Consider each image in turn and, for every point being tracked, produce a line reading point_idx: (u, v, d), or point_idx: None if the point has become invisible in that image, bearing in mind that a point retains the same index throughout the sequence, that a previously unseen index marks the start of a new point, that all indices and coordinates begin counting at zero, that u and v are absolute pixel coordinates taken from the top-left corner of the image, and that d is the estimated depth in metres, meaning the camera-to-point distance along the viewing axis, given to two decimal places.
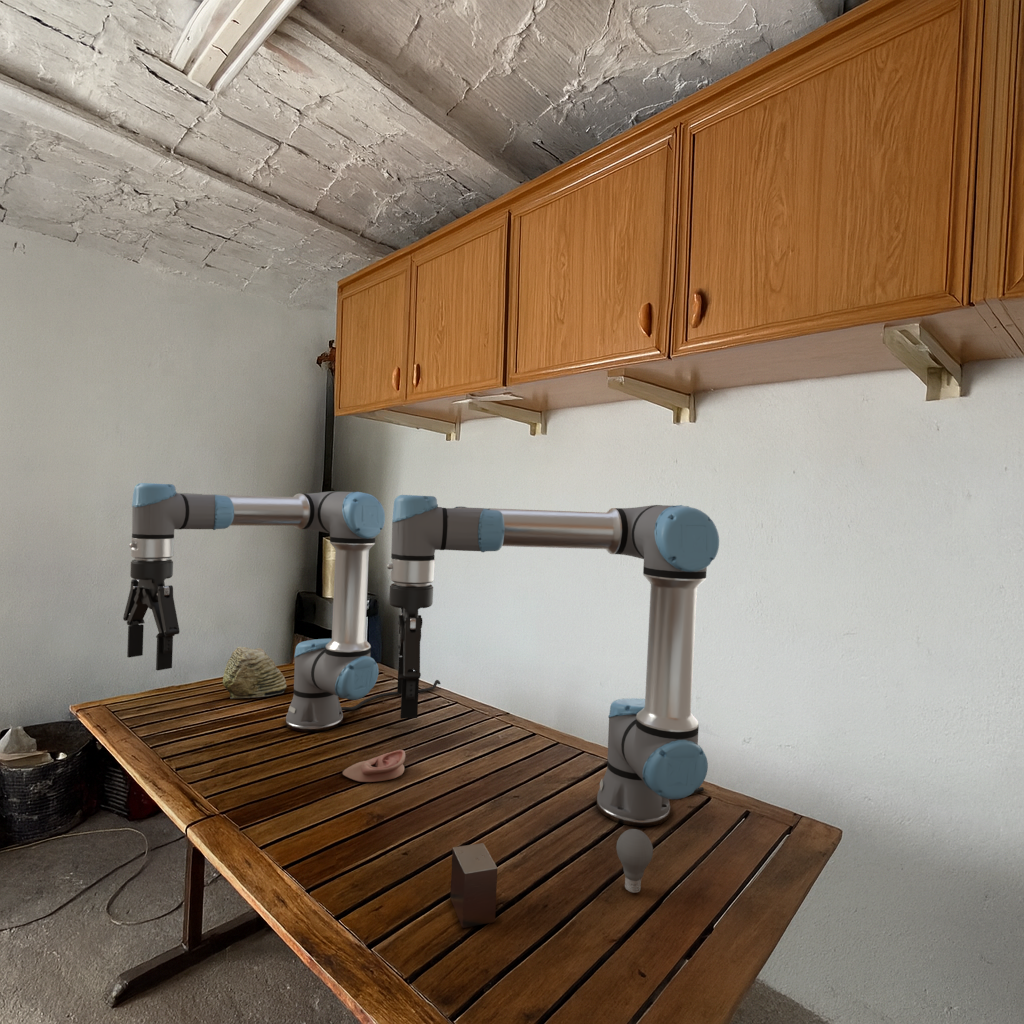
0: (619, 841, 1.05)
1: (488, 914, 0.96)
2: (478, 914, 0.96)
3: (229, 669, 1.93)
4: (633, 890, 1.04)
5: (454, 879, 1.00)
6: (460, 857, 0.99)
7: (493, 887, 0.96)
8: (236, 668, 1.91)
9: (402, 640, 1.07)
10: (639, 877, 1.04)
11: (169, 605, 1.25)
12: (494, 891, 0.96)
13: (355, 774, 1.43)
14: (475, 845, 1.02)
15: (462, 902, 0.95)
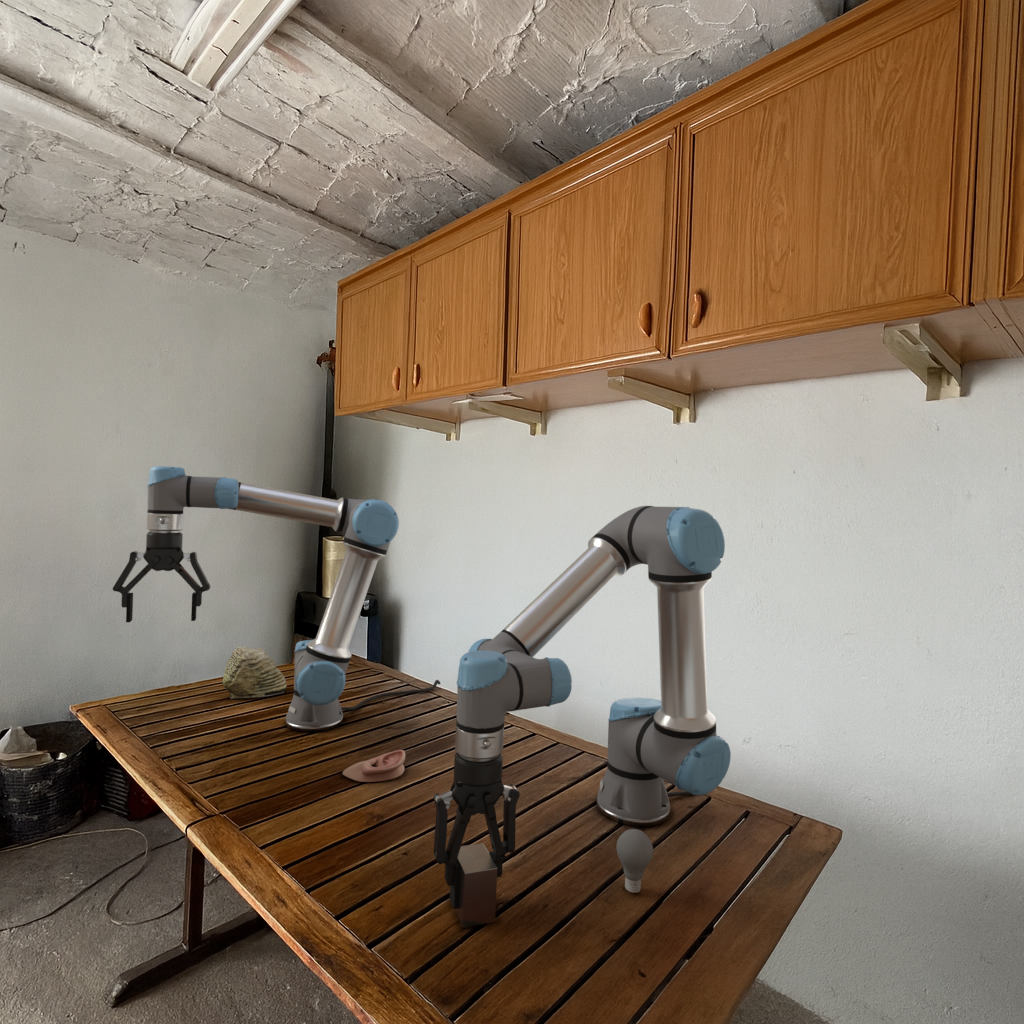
0: (619, 841, 1.05)
1: (488, 914, 0.96)
2: (478, 914, 0.96)
3: (229, 669, 1.93)
4: (633, 890, 1.04)
5: None
6: (460, 857, 0.99)
7: (493, 887, 0.96)
8: (236, 668, 1.91)
9: (493, 818, 0.98)
10: (639, 877, 1.04)
11: (199, 567, 1.53)
12: (494, 891, 0.96)
13: (355, 774, 1.43)
14: (475, 845, 1.02)
15: (462, 902, 0.95)
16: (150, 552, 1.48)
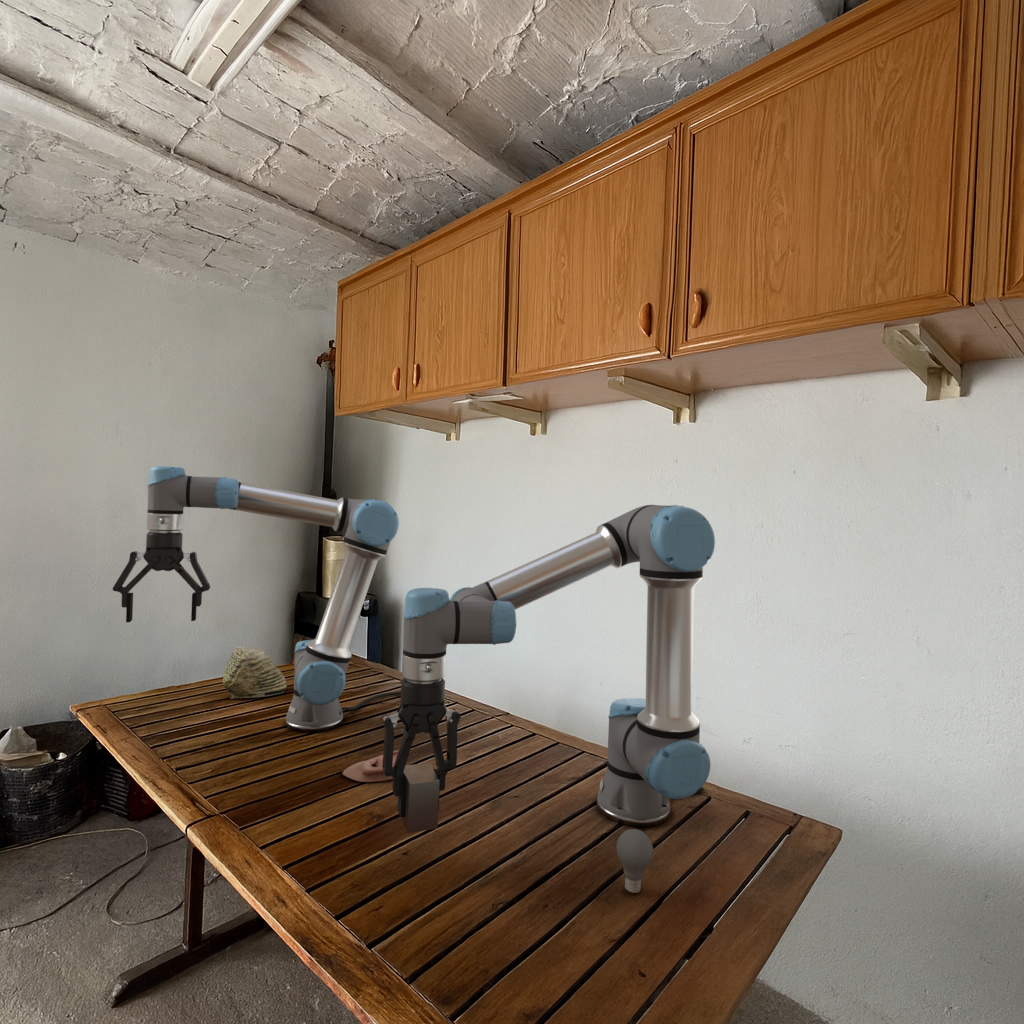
0: (619, 841, 1.05)
1: (431, 821, 1.07)
2: (422, 820, 1.07)
3: (229, 669, 1.93)
4: (633, 890, 1.04)
5: None
6: (407, 772, 1.10)
7: (436, 797, 1.07)
8: (236, 668, 1.91)
9: (436, 736, 1.09)
10: (639, 877, 1.04)
11: (199, 567, 1.53)
12: (436, 800, 1.07)
13: (355, 774, 1.43)
14: (421, 764, 1.13)
15: (407, 810, 1.06)
16: (150, 552, 1.48)
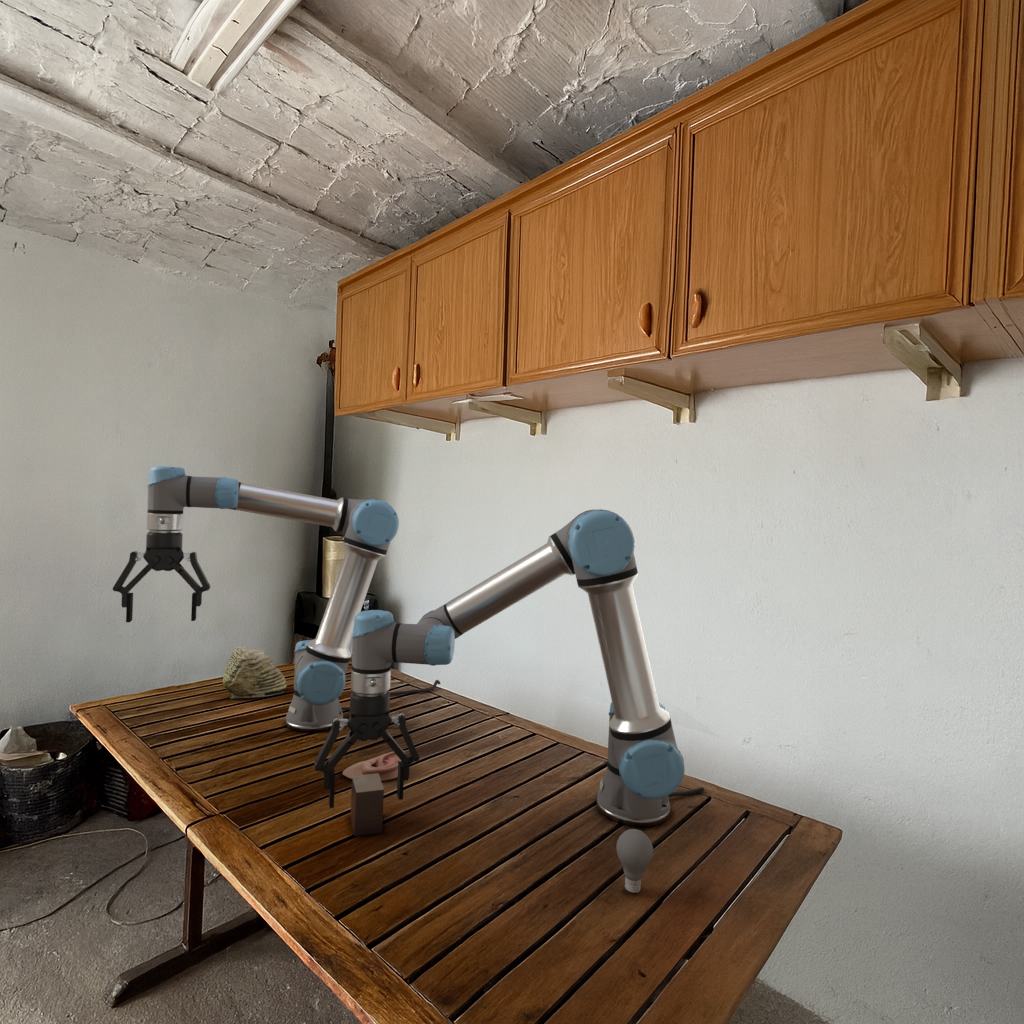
0: (619, 841, 1.05)
1: (376, 826, 1.20)
2: (368, 825, 1.20)
3: (229, 669, 1.93)
4: (633, 890, 1.04)
5: (352, 800, 1.24)
6: (356, 782, 1.23)
7: (381, 804, 1.20)
8: (236, 668, 1.91)
9: (388, 739, 1.23)
10: (639, 877, 1.04)
11: (199, 567, 1.53)
12: (381, 807, 1.20)
13: (355, 774, 1.43)
14: (371, 774, 1.26)
15: (354, 815, 1.19)
16: (150, 552, 1.48)
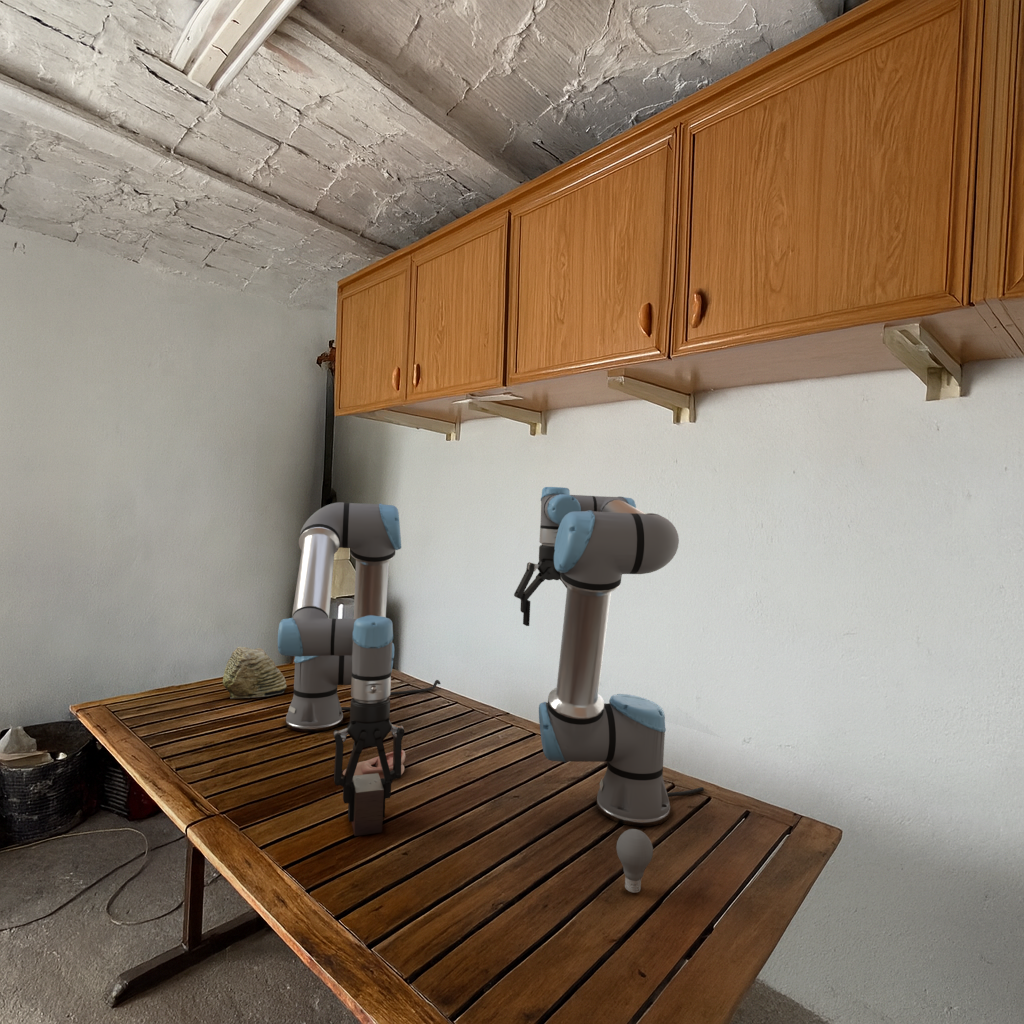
0: (619, 841, 1.05)
1: (376, 826, 1.20)
2: (368, 825, 1.20)
3: (229, 669, 1.93)
4: (633, 890, 1.04)
5: None
6: (356, 782, 1.23)
7: (380, 804, 1.20)
8: (236, 668, 1.91)
9: None
10: (639, 877, 1.04)
11: None
12: (381, 807, 1.20)
13: (355, 774, 1.43)
14: (371, 774, 1.26)
15: (354, 815, 1.19)
16: (356, 726, 1.21)
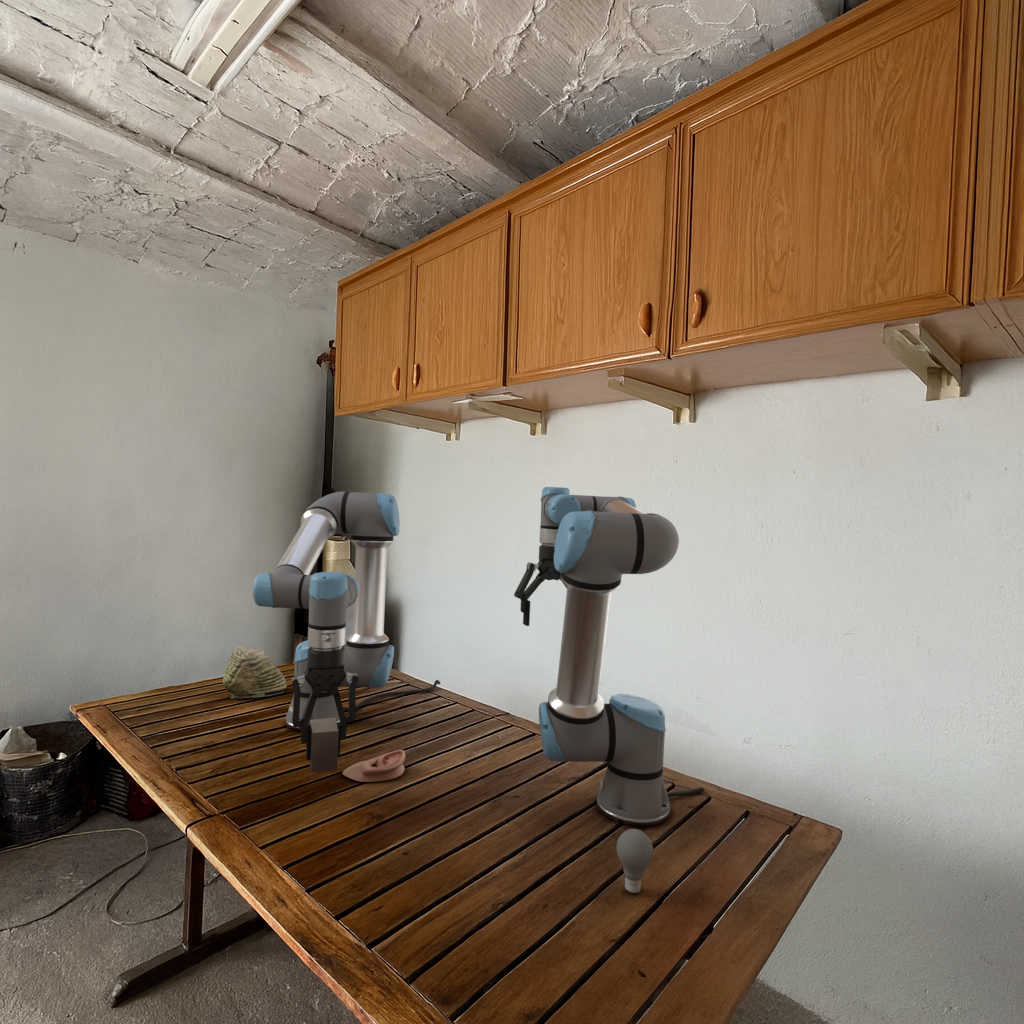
0: (619, 841, 1.05)
1: (331, 764, 1.30)
2: (324, 763, 1.30)
3: (229, 669, 1.93)
4: (633, 890, 1.04)
5: None
6: (313, 724, 1.33)
7: (335, 744, 1.30)
8: (236, 668, 1.91)
9: None
10: (639, 877, 1.04)
11: None
12: (336, 747, 1.30)
13: (355, 774, 1.43)
14: (328, 718, 1.36)
15: (311, 754, 1.29)
16: (312, 672, 1.31)
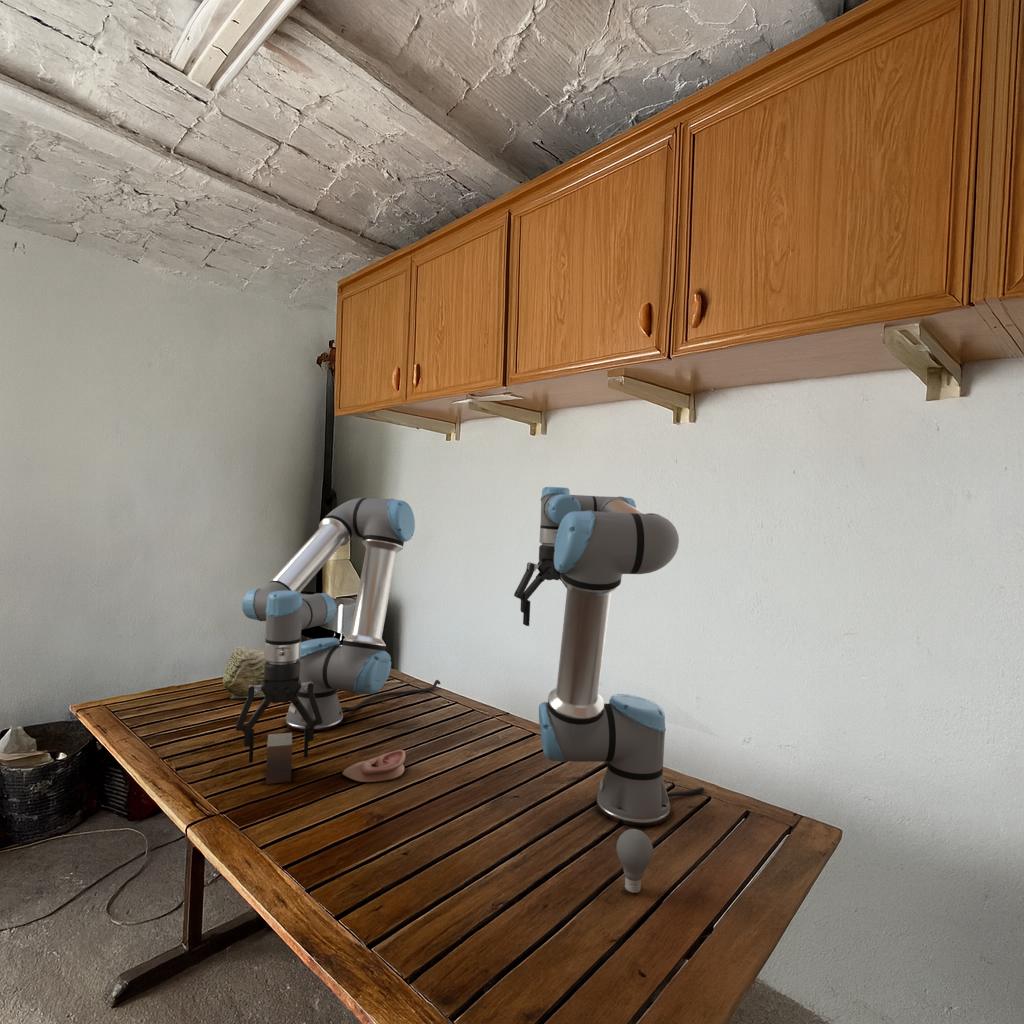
0: (619, 841, 1.05)
1: (285, 776, 1.40)
2: (278, 775, 1.39)
3: (229, 669, 1.93)
4: (633, 890, 1.04)
5: None
6: (270, 739, 1.42)
7: (289, 758, 1.40)
8: (236, 668, 1.91)
9: None
10: (639, 877, 1.04)
11: (315, 697, 1.45)
12: (290, 760, 1.40)
13: (355, 774, 1.43)
14: (285, 733, 1.46)
15: (266, 766, 1.39)
16: (268, 684, 1.40)
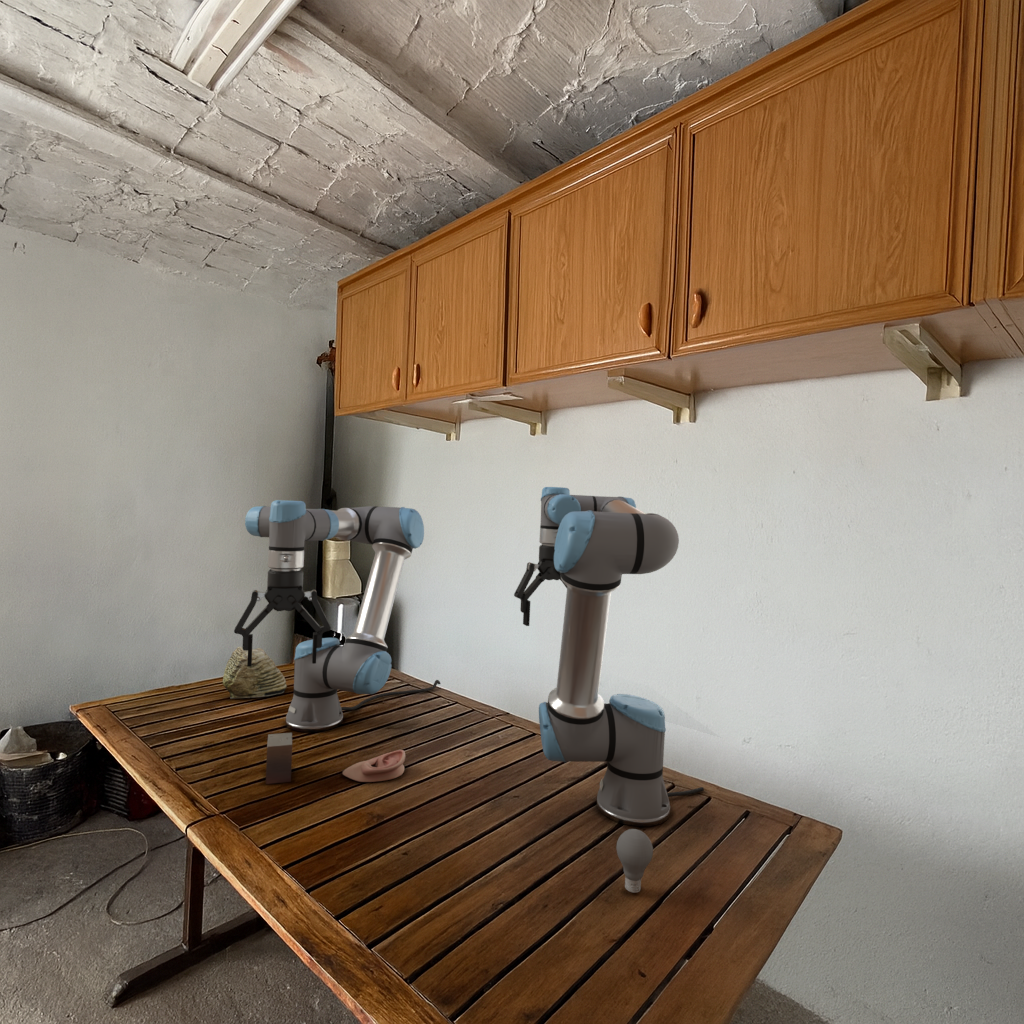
0: (619, 841, 1.05)
1: (285, 776, 1.40)
2: (278, 775, 1.39)
3: (229, 669, 1.93)
4: (633, 890, 1.04)
5: None
6: (270, 739, 1.42)
7: (289, 758, 1.40)
8: (236, 668, 1.91)
9: None
10: (639, 877, 1.04)
11: None
12: (290, 760, 1.40)
13: (355, 774, 1.43)
14: (285, 733, 1.46)
15: (266, 766, 1.39)
16: (272, 591, 1.40)
